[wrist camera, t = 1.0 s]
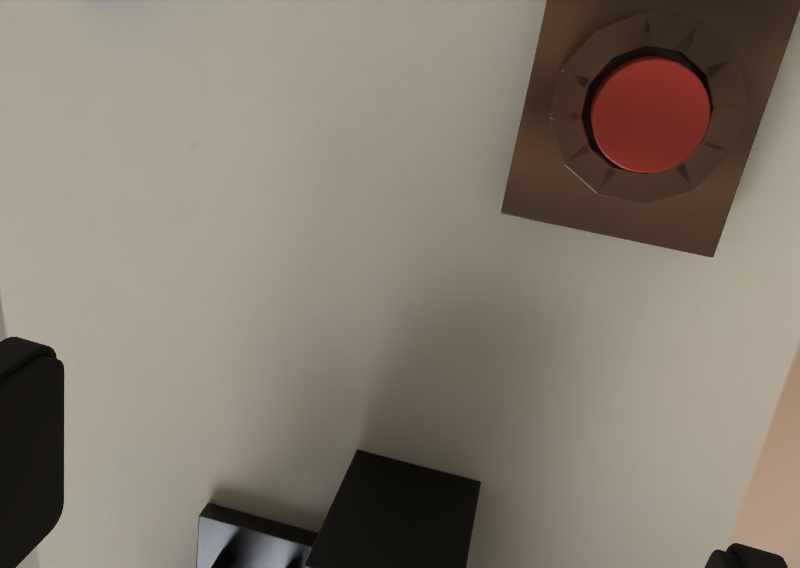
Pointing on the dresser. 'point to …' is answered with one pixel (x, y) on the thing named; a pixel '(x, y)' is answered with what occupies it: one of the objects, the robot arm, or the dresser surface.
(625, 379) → the dresser surface
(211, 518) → the lever bracket
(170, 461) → the dresser surface
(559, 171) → the button block
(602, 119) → the red button
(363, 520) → the toaster
